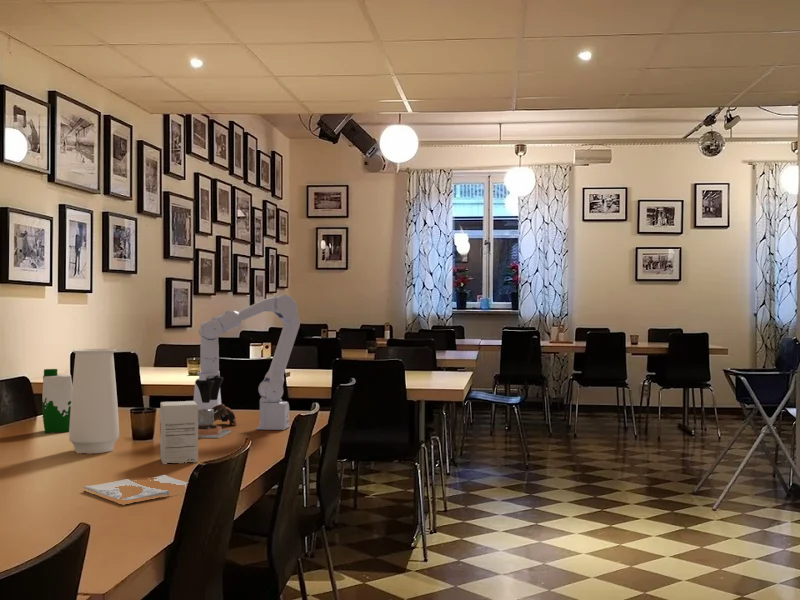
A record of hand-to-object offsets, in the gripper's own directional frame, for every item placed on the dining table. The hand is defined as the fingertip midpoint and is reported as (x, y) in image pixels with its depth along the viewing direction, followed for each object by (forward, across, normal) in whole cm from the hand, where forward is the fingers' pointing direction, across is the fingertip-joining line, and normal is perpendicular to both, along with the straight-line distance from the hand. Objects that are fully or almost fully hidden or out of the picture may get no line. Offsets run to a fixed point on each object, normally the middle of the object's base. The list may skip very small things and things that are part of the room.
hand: (209, 401), depth 256 cm
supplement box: (+10, +48, +7) cm, 49 cm away
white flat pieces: (+10, +82, +13) cm, 83 cm away
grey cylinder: (+9, +5, 0) cm, 11 cm away
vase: (+10, +35, -21) cm, 42 cm away
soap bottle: (+10, -38, -13) cm, 41 cm away
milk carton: (+10, +2, -50) cm, 51 cm away
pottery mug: (+10, -15, -1) cm, 18 cm away
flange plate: (+10, +5, +1) cm, 11 cm away
